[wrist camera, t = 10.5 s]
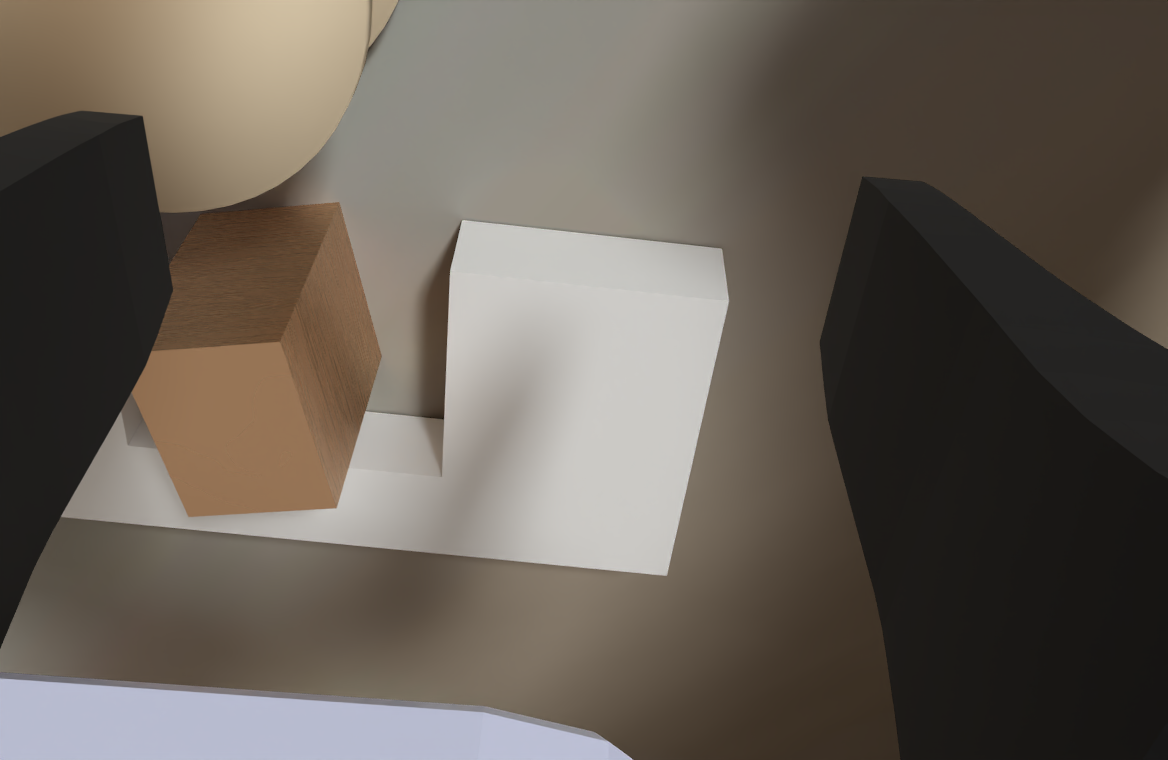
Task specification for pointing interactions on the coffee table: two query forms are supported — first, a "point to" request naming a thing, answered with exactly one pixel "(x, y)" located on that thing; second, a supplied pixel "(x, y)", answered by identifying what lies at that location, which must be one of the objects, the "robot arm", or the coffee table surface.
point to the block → (261, 362)
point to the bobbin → (194, 81)
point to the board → (509, 415)
